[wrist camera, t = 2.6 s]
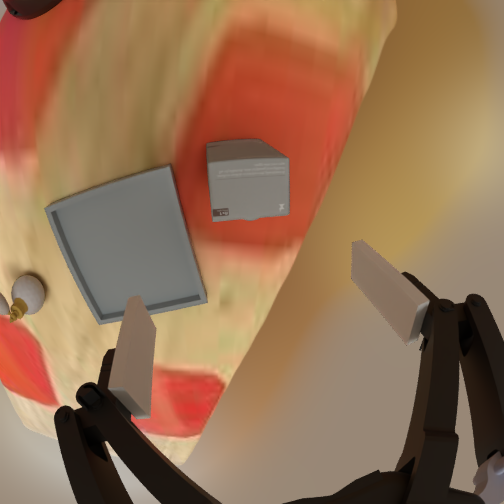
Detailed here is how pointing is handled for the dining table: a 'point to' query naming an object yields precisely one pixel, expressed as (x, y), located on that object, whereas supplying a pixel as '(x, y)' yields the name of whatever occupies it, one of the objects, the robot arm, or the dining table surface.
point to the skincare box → (247, 180)
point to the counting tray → (129, 245)
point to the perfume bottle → (23, 298)
